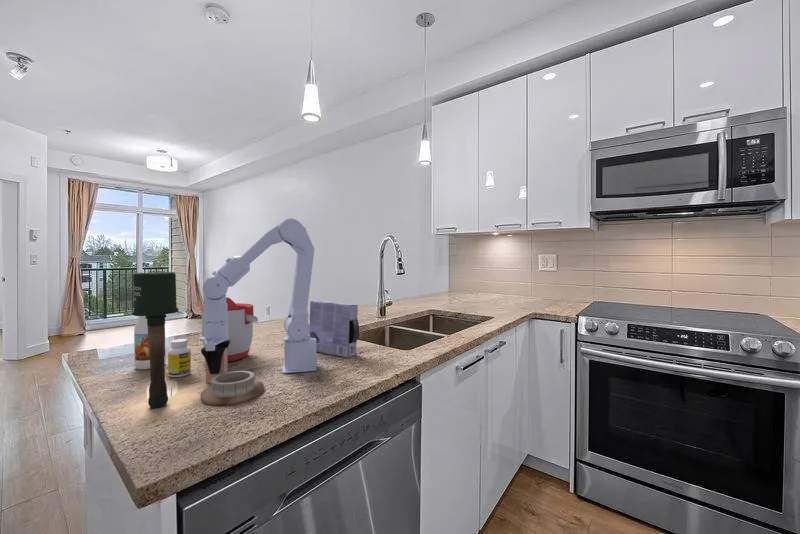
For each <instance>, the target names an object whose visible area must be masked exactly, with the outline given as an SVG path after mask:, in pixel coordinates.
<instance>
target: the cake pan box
mask: <svg viewBox="0 0 800 534" xmlns="http://www.w3.org/2000/svg"><path fill="white" fill-rule="evenodd" d="M358 308H359V307H358V304H355V303H354V304H353V303H347V302H346V303H344V302H337V301H329V300H328V301H327V300H319V299H316V300H310V302H309V326H310V332H309V334H308V335H309V338H316V353H317V352H318V353H322V354H325V355H326V354H327V355H329V356H330V355H331V356H336V357H337V356H338V357H343V358H347V359H350V358H352V357H355V356H357V341H358V339H359V336H360V325H359V320H358V312H359V311H358Z"/></svg>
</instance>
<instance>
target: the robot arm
mask: <svg viewBox="0 0 800 534" xmlns="http://www.w3.org/2000/svg"><path fill="white" fill-rule="evenodd" d="M283 242H284V243H286V244H287V245H289V246H290V247H291V248H292V250H294V252H295V253H296V260H295V268H294V276H293V277H294V278H293V283H292V285H293V286H292V292H291V293H292V294H291V301H290V306H289V309H288V315H287V317H286V318H285V320H284V321H283V322H284V323H283V328H284V330H285V332H287V333H286V335H285V336H284V338H283V349H284V350H283V351H284V352H283V355H284V357H283V358H284V360H283V361H284V363H283V366H282V374H291V373H292V374H293V373H305V372H315V371H318V370H317V369H318V366H317V365H318V364H317V363H318V356H317V352H316V338H309V332H310V326H309V324H310V322H309V310H308V305H309V298H310V297H309V296H310V289H311V288H310V287H311V280H312V274H313V273H312V271H313V265H314V257H315V247H314V246H315V245H313V242H312V240H311V238H310V235H309V234H308V231H307V228H306V227H305V226H304V225H303V224H302V223H301V222H300V221H299V220H297V219H295V218H286V219H285V220H283V221H282V222H281V223H279V224H278V225H276V226H275V227H273V228H271V229H269V230H268V231H266V233H264V234H263V235H262V236H261V237H260V238H259V239H258V240H257V241H256V242H254V244H252V246H250V248H249V249H248V250H246V252H244V253H243V254H242V255H234V256H232V257H228V258H227V259H226V260H225V262H226V263H224V264H223V265H222V266H221V267H220V268H218V270H217V271H216V270H214V271H213V272H212V273H211V275H213V276H210V277H209V278H207V279H206V280H204V282H203V285H202V289H201V290H202V292H203V294H204V296H203V302H204V304H203V307H204V337H202V336H201V337H200V338H199V342H203V341H204V342H205V344H206V348H204V347H202V348H201V349H200V352H201V354H202V356H203V357H204V359H206V362H207V365H208V369H209V372H210V374H219V372H220V367H221V360H222V356H223V353H224V350H225V348H227V349H228V346H229V344H230V342H231V340H228V339H229V336H228V312H227V303H226V298H227V293H228V289H229V288H231V287H234V286H235V285H236V284H237V283H238V282H239V281H240V280H241V279H243V277H245V276H246V275H247V274H248V273H249V272H250V270H251V263H253V262H254V260H256V259H257V258H258V257H259V256H261V255H262V254H263V253H264V252H265V251H266V250H268V249H269V248H270V247H271V246H272V245H277V244H280V243H283ZM206 362H205V363H206Z"/></svg>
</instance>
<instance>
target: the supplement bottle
mask: <svg viewBox="0 0 800 534" xmlns="http://www.w3.org/2000/svg"><path fill="white" fill-rule="evenodd" d="M188 341H189V340H188V339H187V338H179V339H173V340H171V342H170V347H171V348H170V349H169V350H168V351H167V370H168V371H167V373H168V374H167V375H168V377H170V378H181V377H185V376H188V375H190V374H191V371H192V369H191V368H192V367H191V364H192V363H191V362H192V361H191V348H190V347H189V346H188V345H189V344H188V343H189V342H188Z"/></svg>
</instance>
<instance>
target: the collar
mask: <svg viewBox="0 0 800 534" xmlns="http://www.w3.org/2000/svg"><path fill="white" fill-rule="evenodd" d="M255 377H256V376H255V373H254V372H252V371H249V370H233V371H228V372H227V373H222V374H219V375H217V376H215V377H213V378H212V379H211V381H210V386H208V387H206V388H205V389H203V390H202V391H201V393H200V401H201V402H202V403H203V404H205V405H208V406H230V405H236V404H237V405H238V404H242V403H244V402H245V403H246V402H248V401H250V400H253V399H255V398H257V397H259V396H261V395H262V394H263V393H264V391H265V384H264V383H263V382H262V381H260V380H257V379H256V378H255Z"/></svg>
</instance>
